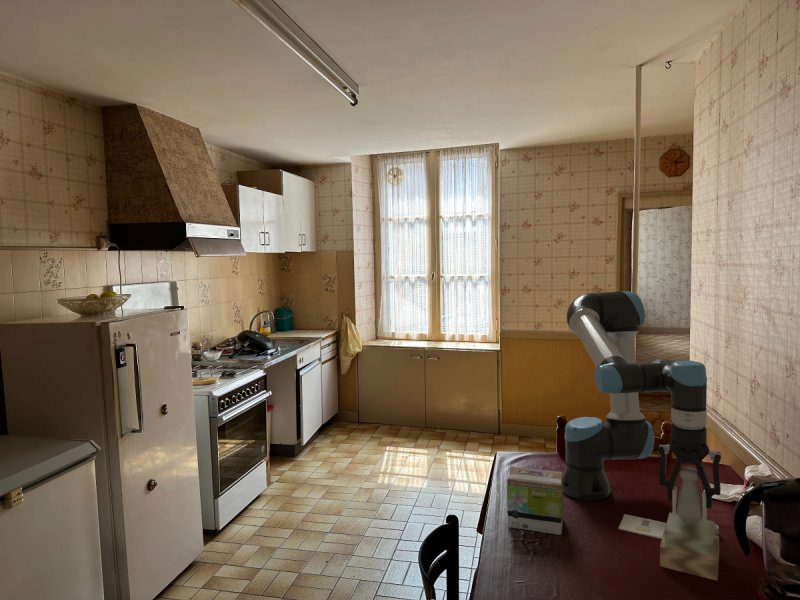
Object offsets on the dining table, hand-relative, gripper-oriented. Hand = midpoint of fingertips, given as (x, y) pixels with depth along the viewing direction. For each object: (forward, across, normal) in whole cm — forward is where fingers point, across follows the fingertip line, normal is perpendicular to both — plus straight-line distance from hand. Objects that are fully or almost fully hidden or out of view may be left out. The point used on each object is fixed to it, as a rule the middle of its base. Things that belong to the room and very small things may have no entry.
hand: (689, 516), depth 128 cm
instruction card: (+11, -12, +12) cm, 20 cm away
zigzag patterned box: (+11, 0, 0) cm, 11 cm away
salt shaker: (+1, 0, 0) cm, 1 cm away
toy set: (+12, 0, +17) cm, 21 cm away
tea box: (+12, -39, 0) cm, 41 cm away
